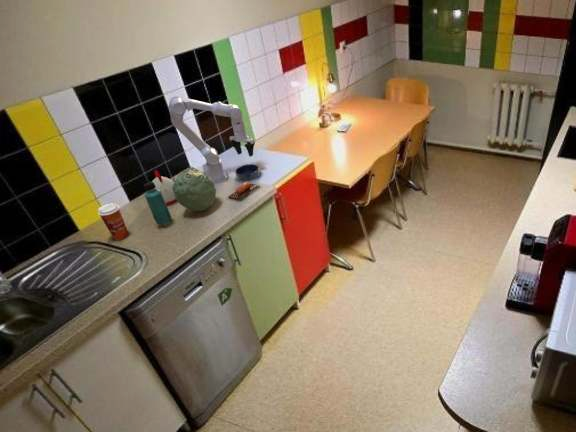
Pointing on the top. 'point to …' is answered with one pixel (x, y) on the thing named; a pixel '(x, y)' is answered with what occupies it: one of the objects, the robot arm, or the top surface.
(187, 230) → the top surface
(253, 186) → the board
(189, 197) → the cabbage
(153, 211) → the beverage bottle
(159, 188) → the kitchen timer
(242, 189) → the hot dog
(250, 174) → the dark blue bowl
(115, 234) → the paper cup
